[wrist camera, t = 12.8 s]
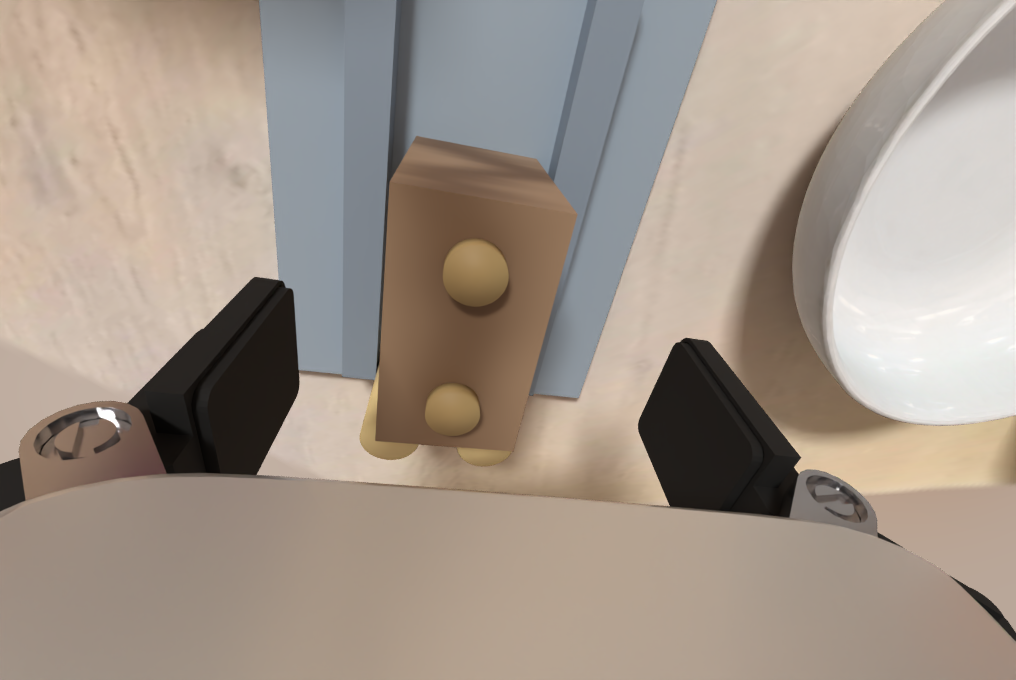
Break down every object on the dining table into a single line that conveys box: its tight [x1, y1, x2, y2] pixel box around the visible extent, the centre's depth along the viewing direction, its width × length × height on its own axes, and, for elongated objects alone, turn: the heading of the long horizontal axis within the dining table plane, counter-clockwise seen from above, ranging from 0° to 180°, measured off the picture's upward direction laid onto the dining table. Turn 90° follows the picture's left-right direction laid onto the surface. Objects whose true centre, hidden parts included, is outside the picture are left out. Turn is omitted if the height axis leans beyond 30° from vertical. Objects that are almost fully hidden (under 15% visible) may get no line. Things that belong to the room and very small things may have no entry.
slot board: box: [259, 0, 717, 466], centre depth 18 cm, size 16×20×7 cm
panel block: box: [375, 136, 578, 451], centre depth 17 cm, size 5×9×9 cm, turn 169°
